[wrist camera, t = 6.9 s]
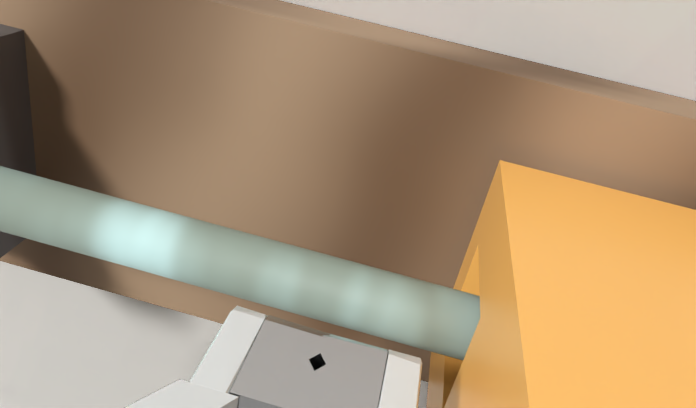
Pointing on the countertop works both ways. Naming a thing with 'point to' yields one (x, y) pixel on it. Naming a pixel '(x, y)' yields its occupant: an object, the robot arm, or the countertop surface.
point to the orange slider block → (575, 300)
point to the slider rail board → (292, 158)
